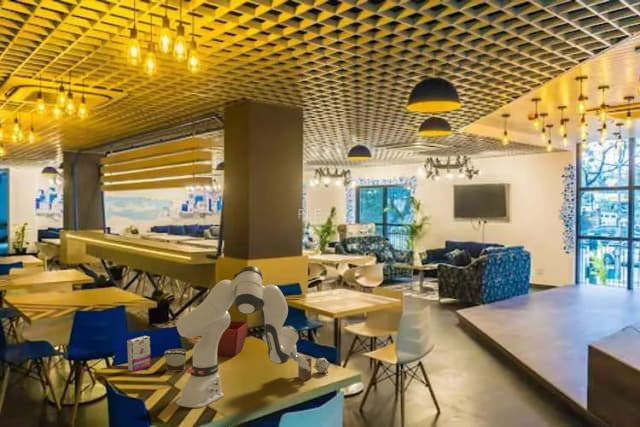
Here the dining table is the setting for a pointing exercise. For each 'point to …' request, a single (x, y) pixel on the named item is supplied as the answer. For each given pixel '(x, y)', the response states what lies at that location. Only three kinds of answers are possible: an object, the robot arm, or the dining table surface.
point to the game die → (321, 365)
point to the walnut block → (304, 372)
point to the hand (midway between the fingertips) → (306, 366)
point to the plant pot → (232, 339)
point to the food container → (175, 359)
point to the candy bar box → (139, 353)
